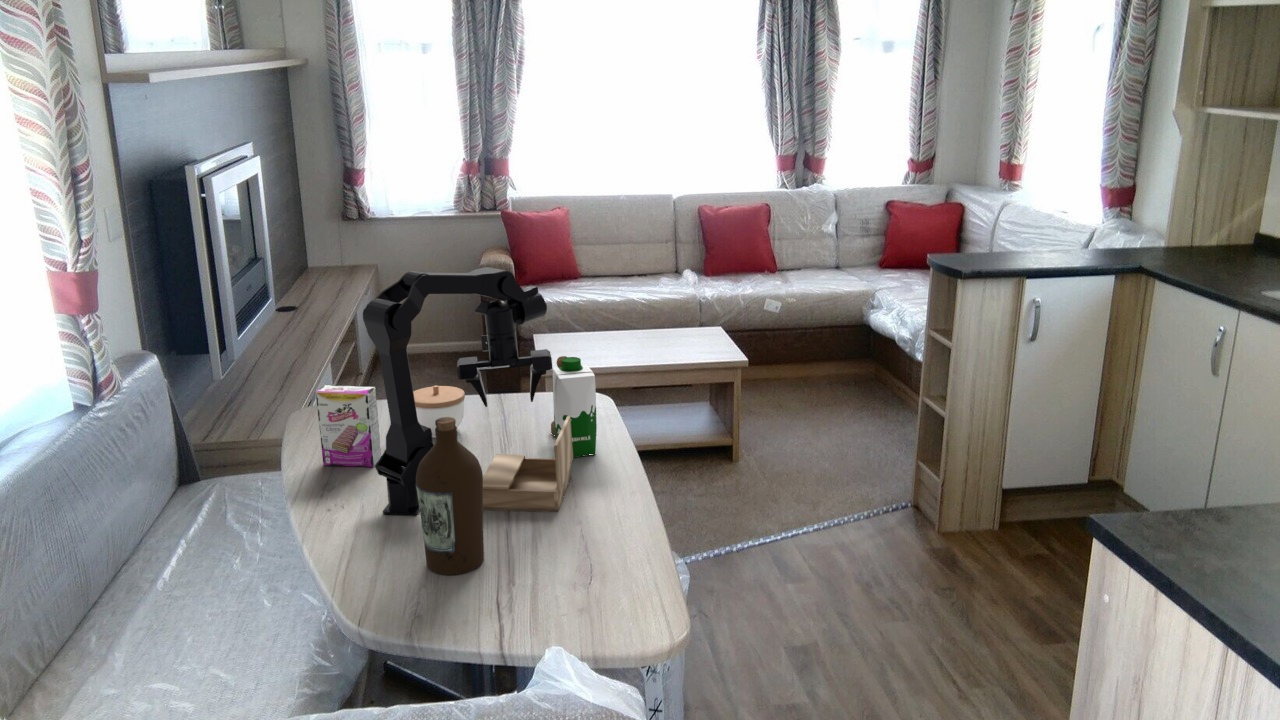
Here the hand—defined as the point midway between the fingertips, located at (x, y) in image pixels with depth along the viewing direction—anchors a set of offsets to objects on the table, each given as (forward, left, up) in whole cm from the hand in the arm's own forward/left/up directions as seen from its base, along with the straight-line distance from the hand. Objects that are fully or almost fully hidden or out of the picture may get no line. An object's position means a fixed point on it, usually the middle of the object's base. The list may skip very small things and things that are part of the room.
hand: (509, 403), depth 194 cm
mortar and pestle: (+19, -8, -14) cm, 25 cm away
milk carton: (+8, -12, -14) cm, 20 cm away
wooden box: (-13, -6, -14) cm, 20 cm away
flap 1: (-14, -1, -9) cm, 16 cm away
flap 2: (-14, -13, -5) cm, 19 cm away
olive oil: (-42, +1, -14) cm, 44 cm away
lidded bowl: (+18, +21, -14) cm, 31 cm away
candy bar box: (0, +34, -14) cm, 37 cm away
